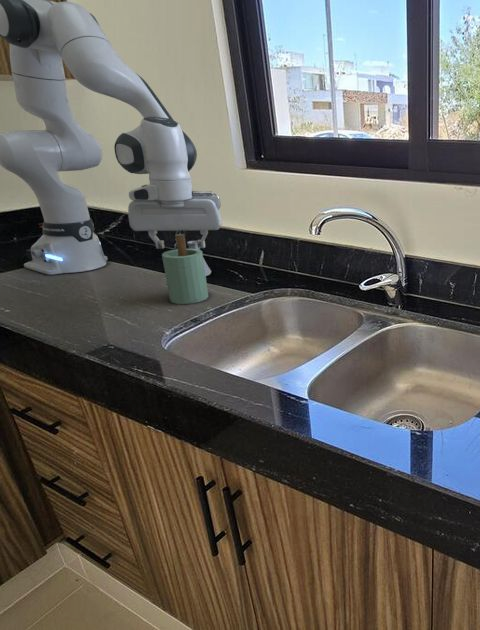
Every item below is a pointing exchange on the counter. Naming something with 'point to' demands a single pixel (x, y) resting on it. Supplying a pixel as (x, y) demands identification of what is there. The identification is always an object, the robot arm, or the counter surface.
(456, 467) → the counter surface
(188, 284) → the jar
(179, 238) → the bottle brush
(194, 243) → the flask
